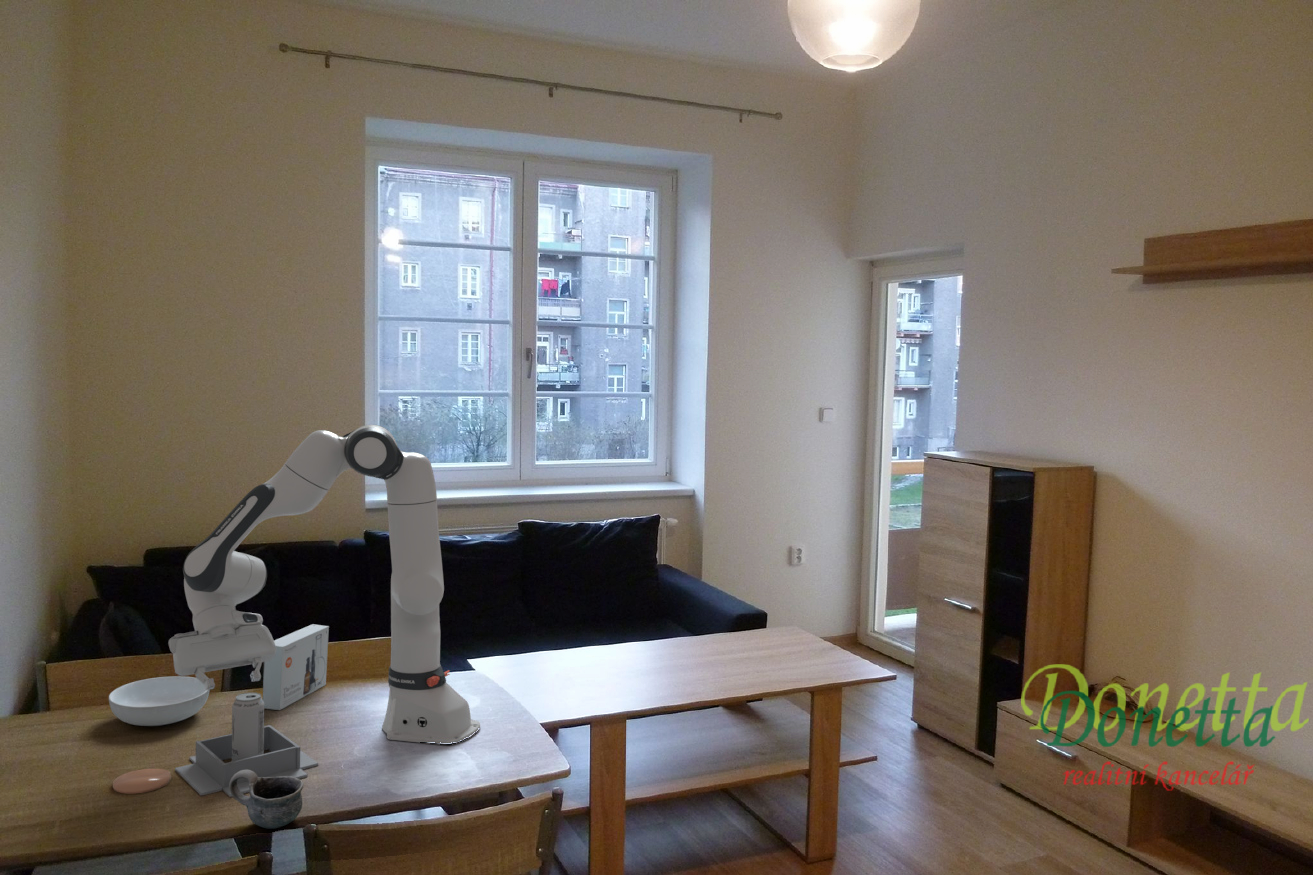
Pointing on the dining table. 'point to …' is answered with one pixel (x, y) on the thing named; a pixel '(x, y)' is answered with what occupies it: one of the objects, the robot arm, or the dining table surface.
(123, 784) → the coaster
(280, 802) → the mug
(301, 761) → the grey open box
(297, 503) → the robot arm
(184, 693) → the serving bowl
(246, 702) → the energy drink can
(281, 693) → the skincare box
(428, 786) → the dining table surface
